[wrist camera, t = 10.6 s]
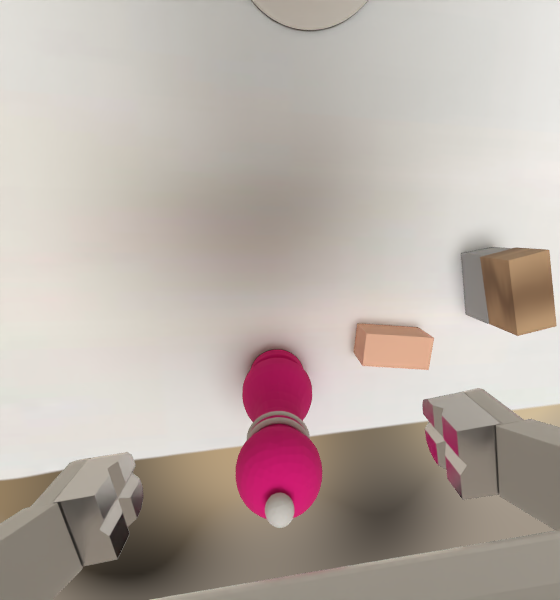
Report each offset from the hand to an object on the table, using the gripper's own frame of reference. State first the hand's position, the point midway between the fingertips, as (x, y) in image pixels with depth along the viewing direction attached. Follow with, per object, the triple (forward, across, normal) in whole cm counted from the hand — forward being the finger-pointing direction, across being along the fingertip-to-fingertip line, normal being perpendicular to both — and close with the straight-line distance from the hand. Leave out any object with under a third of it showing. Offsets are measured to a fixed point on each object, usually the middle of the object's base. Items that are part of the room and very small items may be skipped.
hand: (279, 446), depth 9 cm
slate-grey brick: (+28, -22, +4) cm, 36 cm away
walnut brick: (+24, -22, +4) cm, 33 cm away
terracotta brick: (+28, -11, +9) cm, 31 cm away
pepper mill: (+28, +2, +10) cm, 30 cm away
